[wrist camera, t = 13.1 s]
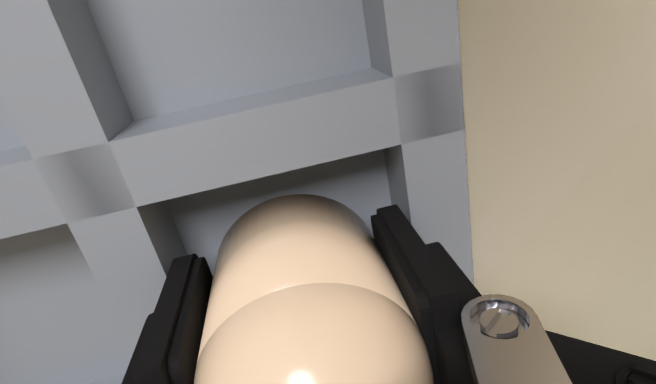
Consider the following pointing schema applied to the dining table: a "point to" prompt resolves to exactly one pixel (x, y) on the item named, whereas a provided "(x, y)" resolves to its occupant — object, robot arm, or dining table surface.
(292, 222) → the beige rounded lump
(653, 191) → the dining table surface
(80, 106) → the egg tray
